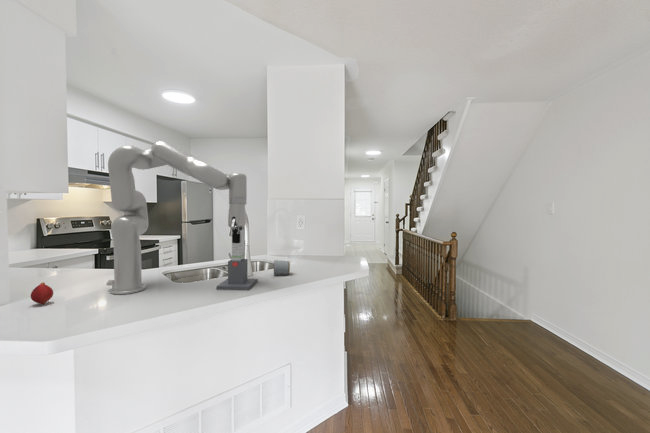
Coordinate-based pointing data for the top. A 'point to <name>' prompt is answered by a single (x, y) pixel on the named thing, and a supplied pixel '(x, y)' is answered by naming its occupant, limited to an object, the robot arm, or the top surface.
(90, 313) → the top surface
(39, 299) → the onion
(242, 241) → the column
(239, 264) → the stand
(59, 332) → the top surface
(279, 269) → the ceramic mug
